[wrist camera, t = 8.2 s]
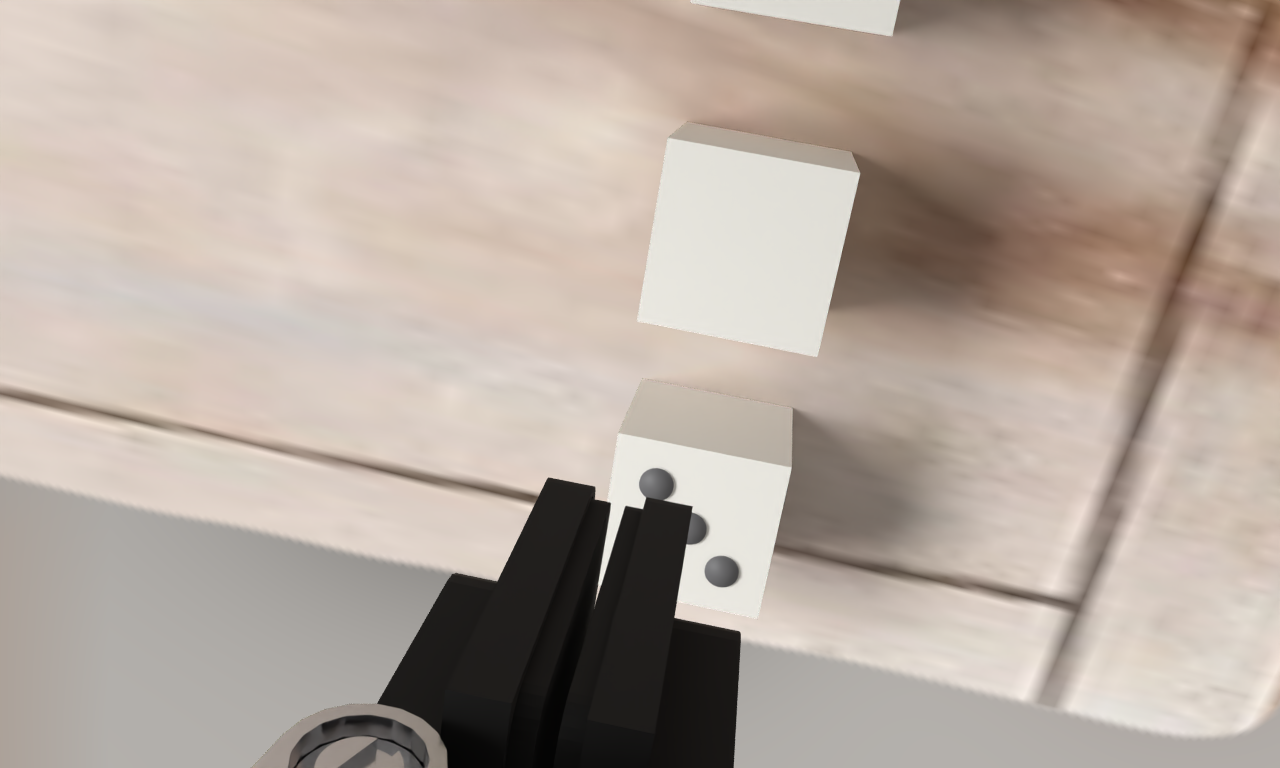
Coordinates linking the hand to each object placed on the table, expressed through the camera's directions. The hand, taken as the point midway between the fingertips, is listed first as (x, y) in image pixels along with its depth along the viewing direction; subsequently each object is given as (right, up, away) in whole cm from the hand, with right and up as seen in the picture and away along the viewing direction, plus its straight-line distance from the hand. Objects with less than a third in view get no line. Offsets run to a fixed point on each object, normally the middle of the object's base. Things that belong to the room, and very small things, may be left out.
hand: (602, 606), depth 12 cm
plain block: (+5, +9, +27) cm, 29 cm away
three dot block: (+3, -1, +30) cm, 30 cm away
